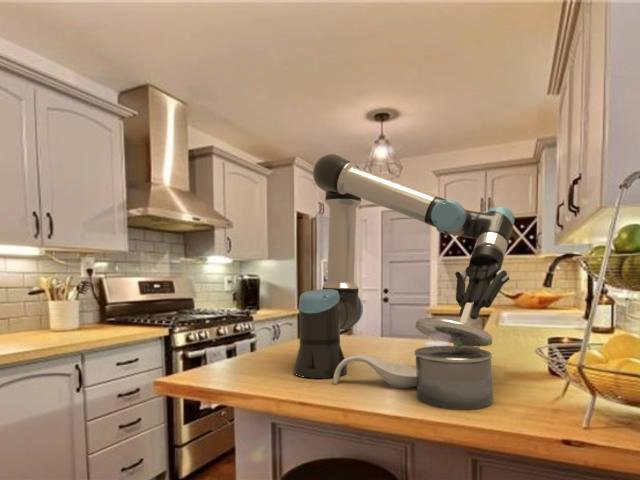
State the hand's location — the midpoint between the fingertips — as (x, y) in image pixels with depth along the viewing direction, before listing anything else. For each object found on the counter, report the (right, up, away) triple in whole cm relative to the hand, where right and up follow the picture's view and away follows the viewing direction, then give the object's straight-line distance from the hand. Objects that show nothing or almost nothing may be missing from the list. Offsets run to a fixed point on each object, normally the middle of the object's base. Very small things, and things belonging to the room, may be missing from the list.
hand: (463, 329), depth 92 cm
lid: (-2, -1, +1) cm, 3 cm away
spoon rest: (-17, -17, +12) cm, 27 cm away
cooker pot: (-3, -15, -1) cm, 15 cm away
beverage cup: (-1, -17, +18) cm, 24 cm away
